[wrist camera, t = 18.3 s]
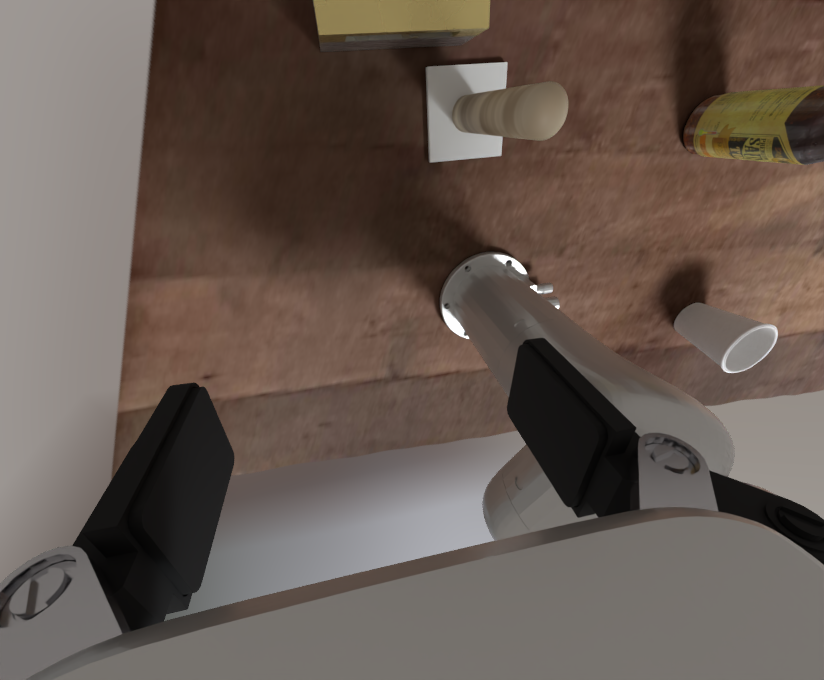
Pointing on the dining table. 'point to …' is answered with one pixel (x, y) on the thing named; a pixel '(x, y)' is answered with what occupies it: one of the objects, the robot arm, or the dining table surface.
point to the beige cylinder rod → (513, 111)
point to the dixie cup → (726, 336)
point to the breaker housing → (398, 23)
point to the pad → (441, 98)
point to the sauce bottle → (760, 126)
